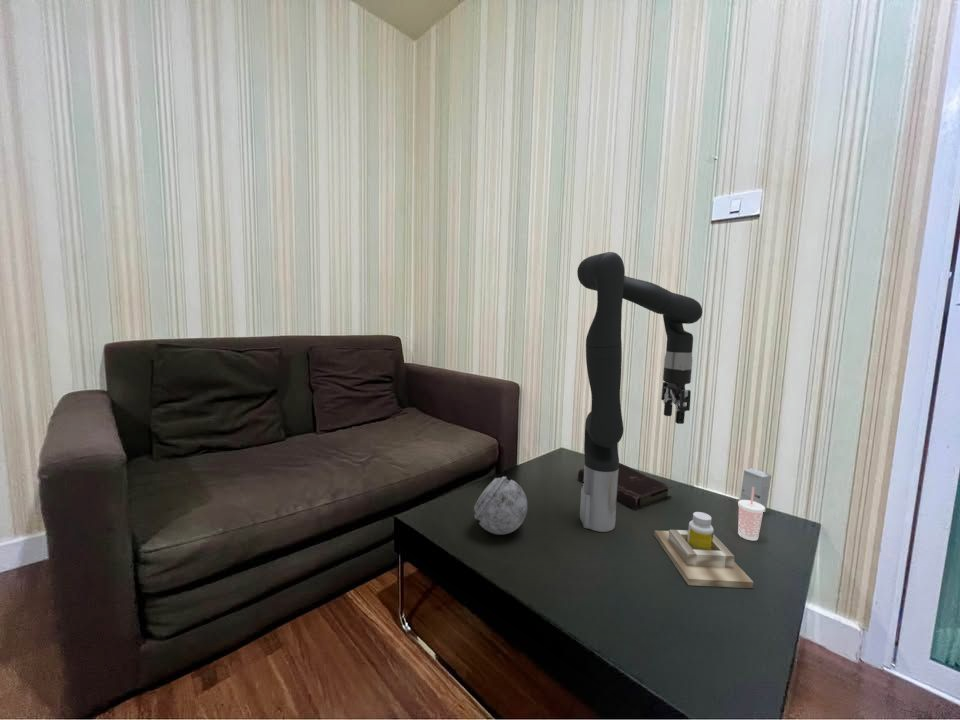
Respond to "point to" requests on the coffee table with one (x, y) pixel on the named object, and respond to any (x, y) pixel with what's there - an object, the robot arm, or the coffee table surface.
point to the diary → (637, 488)
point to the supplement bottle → (700, 532)
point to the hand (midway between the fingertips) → (673, 419)
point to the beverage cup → (750, 518)
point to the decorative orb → (501, 506)
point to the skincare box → (756, 486)
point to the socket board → (704, 571)
